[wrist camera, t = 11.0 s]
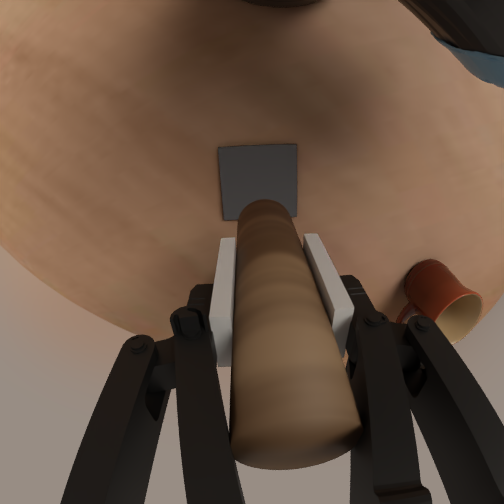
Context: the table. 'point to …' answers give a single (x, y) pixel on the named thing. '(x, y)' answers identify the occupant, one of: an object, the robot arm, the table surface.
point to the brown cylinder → (284, 353)
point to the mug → (441, 300)
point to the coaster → (258, 176)
